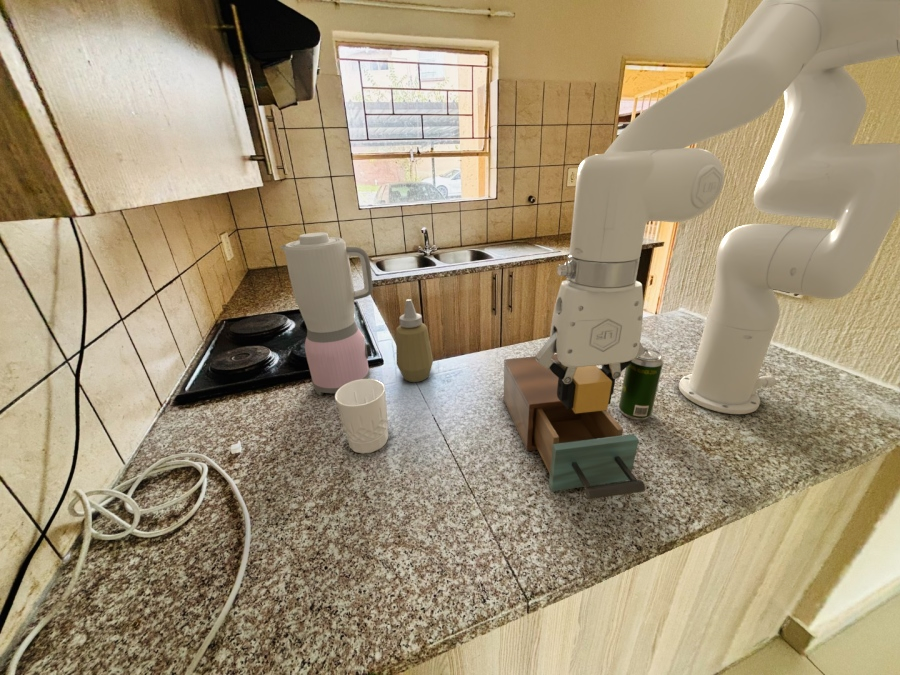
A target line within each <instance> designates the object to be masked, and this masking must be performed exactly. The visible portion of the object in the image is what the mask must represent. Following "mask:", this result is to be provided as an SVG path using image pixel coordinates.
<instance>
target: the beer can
mask: <svg viewBox="0 0 900 675" xmlns="http://www.w3.org/2000/svg"><path fill="white" fill-rule="evenodd" d="M643 348H644V350H645V352H644V353H643V354H642V355H640V356H639V357H638V358H636V359H635V360H632V361H631V363H630V365H628V366H627V367H626V368H625V369H624V376H623V380H622V386H621V391H620V392H621V393H620V398H619V403H618V408H619V411H620V413H621V414H622V415H623V416H624V417H626V418H627V419H630V420H635V421H645V420H647V419H648V418H650V417H651V415H652V414H653V410H654V405H655V402H656V401H655V400H656V396H657V392H658V388H659V384H660V379H661V375H662V372H663V366H664V355H663V353H661V352H660V351H659V350H656V349H654V348H650V347H644V346H643Z"/></svg>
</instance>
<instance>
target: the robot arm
mask: <svg viewBox="0 0 900 675" xmlns="http://www.w3.org/2000/svg"><path fill="white" fill-rule="evenodd" d="M899 56H900V0H761V2H760V3H759V4H758V6H757V7H756V8H755V9H754V11H753V12H752V13H751V14H750V15H749V17H748V18H747V19H746V20H745V22H744V23H743V24H742V25H741V27H740V28H739V29H738V31H737V32H736V33H735V34H734V36H733V37H732V38H731V39H730V40H729V42H728V43H727V44H726V45H725V46H724V47H723V49H722V50H721V51H720V52H719V53H718V55H717V56H716V57H715V59H714V60H713V61H711V63H710V64H709V66H707V67H706V68H704V70H701V71H700V72H699V73H697V74H695V75H694V76H692V77H691V78H689V79H688V80H686V81H684V82H683V83H682V84H680V85H679V86H678V87H676V88H675V89H674V90H672V91H670V92H669V93H668V94H666V95H665V96H664V97H662V98H660V99H659V100H657V101H656V102H655V103H653V104H652V105H651V106H649V107H648V108H646V109H645V110H644V111H642V112H641V113H640V114H639V115H637V116H636V117H635V118H633V120H632V121H631V122H629V124H627V125H626V126H625V127H624V129H622V131H621V132H620V133H619V134H618V136H617V137H616V138H615V139H614V140H613V142H611V144H610V145H609V146H608V148H607V149H606V151H605V152H604V153H599V154H592V155H589V156H586V157H585V158H584V159H582V161H581V163H580V164H579V165H578V168H577V174H576V181H575V190H574V191H575V194H574V201H573V202H574V204H573V212H572V221H571V222H572V224H571V232H570V233H571V234H570V244H569V253H568V254H569V255H567V258H566V262H564V263H562V264H561V263H560V264H558V265H557V267H556V273H557V276H558V277H565V280H562V281H561V283H560V287H559V290H558V292H557V295H556V300H555V303H554V307H553V312H552V318H551V324H550V331H549V333H550V334H549V338H548V339H547V341H546V342H545V344H543V346H542V347H541V348H540V350H539V351H538V352H537V353H536V354H535V355H534V356H535V359H536V360H537V362H538V363H539V364H540V365H542V366H543V367H545V368H547V369H549V370H551V371H552V372H553V373H554V374H555V375H556V376H557V377H558V387H557V397H558V399H559V400H560V401H562V402H563V404H564V405H565V407H566V408H567V409H572V408H573V402H574V394H575V383H574V382H573V381H572V380H573V377H574V375H575V372H576V369H577V367H585V366H601V368H600V367H599V369H600V370H601V371H602V372H603V373H604V374H605V375H606V376H607V377H608V378H609V379H610V380H611V381H612V385H611V391H610V397H609V403H608V406H609V405H611V400H612V396H613V394H614V390H615V385H616V380H618V379H619V378H621V376H622V372H623V371H625V370H626V367H627V366H628V365H630V363H631V361H632V360H635V359H636V358H638V357H639V356H640V355H642V354H643V353H644V352H645V350H644V348H645V347H644V346H643V345H642V342H641V338H642V330H643V319H644V292H643V291H644V290H643V284H642V283H641V282H640V281H638V280H637V276H638V270H639V265H640V260H641V258H640V257H641V253H642V248H643V242H644V237H645V232H646V231H645V230H646V226H647V223H649V222H667V223H681V222H686V221H687V222H688V221H691V220H693V219H695V218H697V217H699V216H701V215H703V213H705V212H706V211H707V210H709V209H710V208H712V206H713V205H714V204H715V202H717V199H718V198H719V196H720V194H721V193H722V191H723V190H722V189H723V186H724V182H725V171H724V167H723V164H722V162H721V160H720V159H719V157H717V156H716V154H714V153H713V152H711V151H709V150H706V149H703V148H697V147H690V146H693V145H696V144H698V143H701V142H703V141H707V140H710V139H713V138H716V137H718V136H721V135H723V134H727V133H729V132H731V131H733V130H736V129H738V128H740V127H743V126H745V125H747V124H750V123H752V122H753V121H755V120H757V119H759V118H761V117H762V116H763V115H765V114H766V113H767V112H769V111H770V110H771V109H772V108H773V107H774V105H775V104H776V103H777V102H778V100H779V99H780V98H781V96H783V95H784V115H783V118H782V120H781V121H782V122H781V124H780V127H779V130H778V132H777V135H776V137H775V140H774V142H773V144H772V147H771V149H770V152H769V154H768V156H767V159H766V161H765V164H764V167H763V169H762V170H761V173H760V175H759V178H758V181H757V183H756V187H755V190H754V193H753V205H754V207H755V209H757V210H758V211H759V212H761V213H764V214H767V215H774V216H783V217H795V218H809V219H822V220H823V219H824V220H833V221H836V224H835V228H833V229H832V228H823V227H822V228H821V227H811V226H809V227H808V226H802V225H791V224H778V223H761V222H760V223H749V224H744V225H741V226H737V227H735V228H733V229H732V230H730V231H729V232H728V233H726V234H725V236H724V237H723V238H722V240H721V241H720V244H719V245H718V248H717V252H716V259H715V277H714V278H715V279H714V281H715V282H714V287H713V293H712V297H711V302H710V305H709V309H708V313H707V316H706V320H705V323H704V328H703V332H702V335H701V338H700V342H699V346H698V349H697V353H696V356H695V359H694V360H695V361H694V363H693V368H692V371H691V373H690V374H686V375H684V376H683V377H681V378H680V380H679V383H678V389H679V391H680V393H681V394H682V395H683V396H684V397H685V398H686V399H688V400H689V401H691V403H693V404H696V405H698V406H700V407H702V408H704V409H707V410H709V411H710V410H711V411H714V412H718V413H722V414H729V415H746V414H751V413H753V412H756V411H757V410H758V409H759V406H760V404H761V399H760V396H759V395H758V393H757V391H758V390H759V389H761V388H762V387H765V388H766V387H774V386H776V384H777V379H776V378H775V377H774V376H773V375H762V376H759V375H760V374H759V373H760V372H761V369H762V365H763V363H764V360H765V359H766V358H765V357H766V355H767V352H768V350H769V347H770V344H771V342H772V339H773V336H774V333H775V330H776V328H777V325H778V322H779V319H780V310H781V309H780V304H779V300H778V298H777V296H776V294H775V292H774V290H775V291H779V292H785V293H790V294H794V295H799V296H803V297H804V296H805V297H810V298H816V299H822V300H836V299H839V298H843V297H845V296H847V295H848V294H850V293H851V292H852V291H853V290H854V289H855V288H856V287H857V286H858V284H859V283H860V282H861V281H862V280H863V278H864V276H865V275H866V273H867V271H868V269H869V267H870V266H871V264H872V262H873V260H874V258H875V256H876V254H877V252H878V251H879V249H880V247H881V245H882V244H883V241H884V239H885V237H886V236H887V234H888V232H889V230H890V228H891V226H892V224H893V222H894V221H895V219H896V217H897V216H898V213H899V212H900V143H895V142H878V143H877V142H876V143H859V144H852V143H853V140H854V138H855V136H856V133H857V132H858V129H859V127H860V124H861V123H862V121H863V118H864V116H865V114H866V111H867V99H866V97H865V94H864V92H863V90H862V88H861V87H860V86H859V84H858V83H857V82H856V80H855V79H854V77H852V75H851V74H850V72H848V71H847V69H846V66H851V65H857V64H862V63H868V62H873V61H878V60H883V59H889V58H894V57H899ZM643 347H644V348H643ZM554 354H557V357H558V360H559V361H558V363H557V362H556V361H555V360H554V359H551V358H552V356H553V355H554Z"/></svg>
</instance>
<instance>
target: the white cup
mask: <svg viewBox="0 0 900 675" xmlns="http://www.w3.org/2000/svg"><path fill="white" fill-rule="evenodd" d="M386 396H387V395H386V387H385V384H384V383H383V382H381V381H380V380H377V379H375V378H368V379H359V380H355V381H351V382H349V383H347V384H345V385H343V386H342V387H340V388H339V389H338V390H337V392H336V393H334V400H335V404H336V408H337V411H338V414H339V418H340V422H341V425H342V428H343V431H344V434H345V436H346V439H347V443H348V447H349V449H351V450H352V451H353V452H355V453H358V454H363V455H364V454H370V453H371V454H372V453H374V452H376V451H379V450H381V449H382V448H383V447H384V446H385V445H386V444H387V442H388V439H389V427H388V407H387V399H386V398H387V397H386Z"/></svg>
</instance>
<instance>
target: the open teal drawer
mask: <svg viewBox="0 0 900 675" xmlns="http://www.w3.org/2000/svg"><path fill="white" fill-rule="evenodd" d="M623 432H624V428H623V427H622V426H621V425H620V424H619V422H617V420H616V419H615V418H614V417H613V416H612V415H611V414H610V412H609V411H608V409H607V410H602V411H594V412H585V413H576V414H575V413H574V411H573V410H572V409H567V408H566V407H565V405H557V406H549V407H540V408H534V416H533V432H532V439H533V441H534V443H535V445H536V447H537V449H538V450H537V452H538V453H539V456H540V457H541V460H542V461H543V464H544V465H545V467H546V469H547V471H548V473H549V478H548V479H549V480H548V481H549V482H548V486H549V488H550V490H551V492H555V491H564V490H570V489H576V488H584V493H585V497H586V498H587V499H588V500H596V499H603V498H604V499H605V498H610V497H617V496H624V495H625V496H626V495H631V494H638V493H644V492H645V491H646V486H645V485H646V484H645V483H644V481H643V480H641V479H637V478H636V476H635V474H634V473H633V468H634V464H635V459H636V455H637V450H638V446H639V443H640V442H639V441H640V440H639V438H638V437H637V435H635V433H631V434H623Z"/></svg>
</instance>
